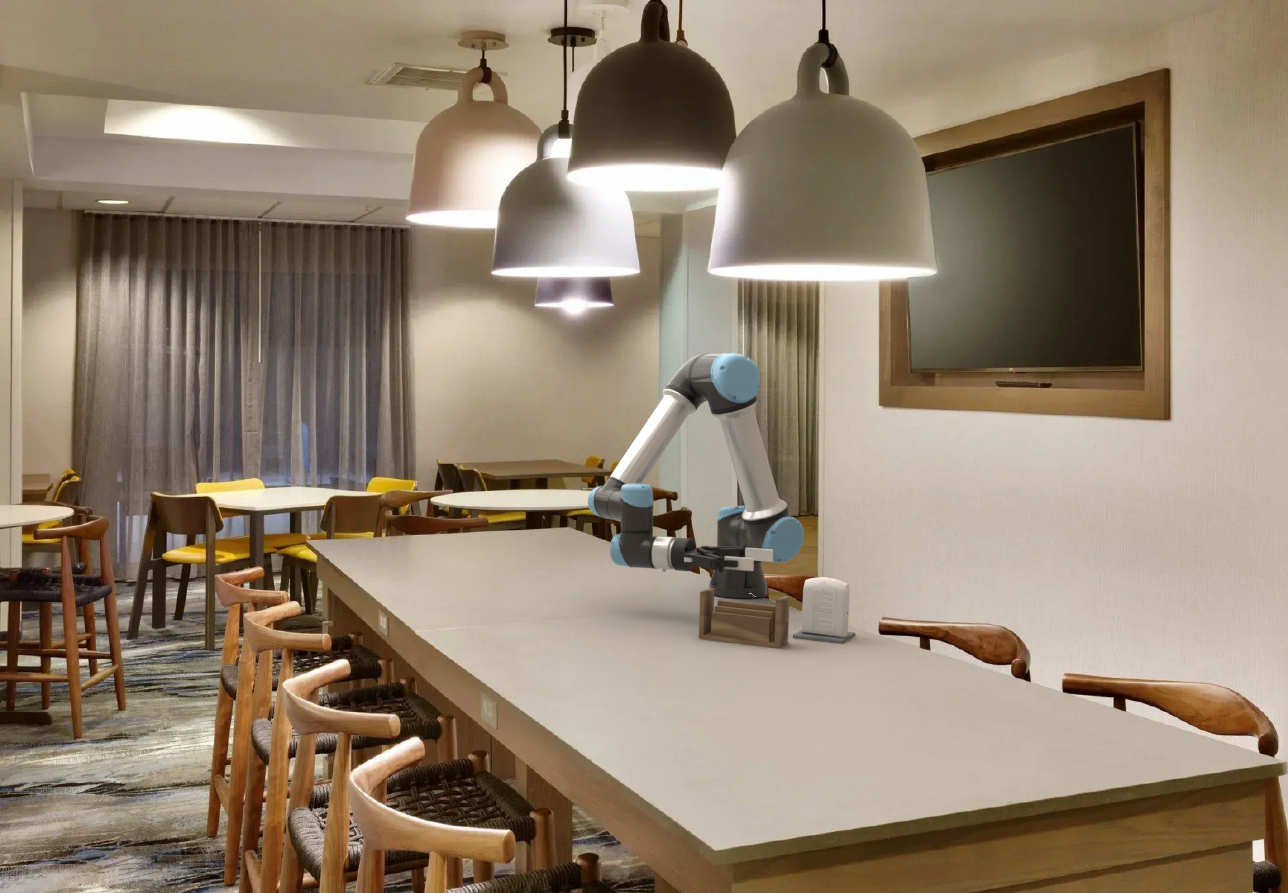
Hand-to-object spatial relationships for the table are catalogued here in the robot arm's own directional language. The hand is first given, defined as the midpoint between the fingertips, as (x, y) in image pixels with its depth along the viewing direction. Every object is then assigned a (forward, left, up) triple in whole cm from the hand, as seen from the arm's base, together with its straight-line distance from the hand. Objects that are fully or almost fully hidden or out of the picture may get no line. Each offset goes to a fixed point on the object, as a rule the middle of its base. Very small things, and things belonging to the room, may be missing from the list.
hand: (763, 560), depth 267 cm
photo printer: (+1, +15, -15) cm, 21 cm away
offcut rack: (+15, +1, -15) cm, 21 cm away
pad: (+1, +15, -15) cm, 21 cm away
